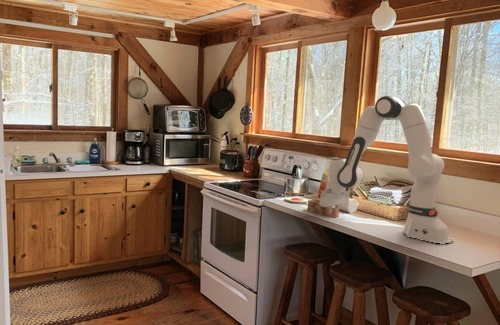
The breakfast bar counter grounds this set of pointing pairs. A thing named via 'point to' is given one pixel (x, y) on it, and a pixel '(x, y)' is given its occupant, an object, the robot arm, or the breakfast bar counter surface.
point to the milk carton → (323, 183)
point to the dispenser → (315, 207)
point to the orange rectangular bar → (335, 212)
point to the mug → (349, 206)
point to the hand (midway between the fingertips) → (333, 213)
